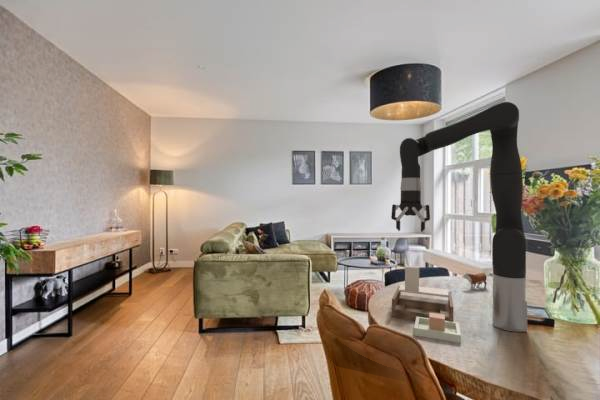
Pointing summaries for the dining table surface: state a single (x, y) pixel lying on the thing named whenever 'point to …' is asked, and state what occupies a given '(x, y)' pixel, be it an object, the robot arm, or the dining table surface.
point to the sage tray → (450, 332)
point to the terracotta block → (437, 321)
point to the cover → (413, 284)
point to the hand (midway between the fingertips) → (410, 231)
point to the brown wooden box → (420, 306)
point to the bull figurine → (475, 279)
